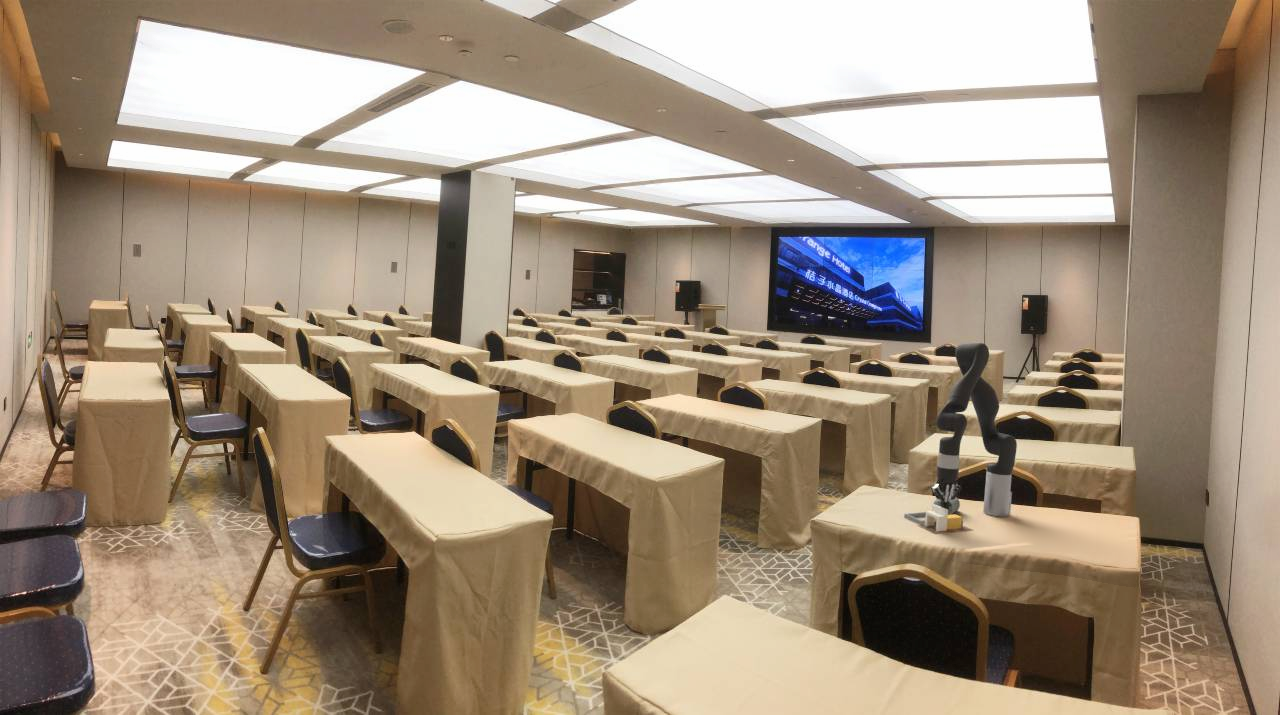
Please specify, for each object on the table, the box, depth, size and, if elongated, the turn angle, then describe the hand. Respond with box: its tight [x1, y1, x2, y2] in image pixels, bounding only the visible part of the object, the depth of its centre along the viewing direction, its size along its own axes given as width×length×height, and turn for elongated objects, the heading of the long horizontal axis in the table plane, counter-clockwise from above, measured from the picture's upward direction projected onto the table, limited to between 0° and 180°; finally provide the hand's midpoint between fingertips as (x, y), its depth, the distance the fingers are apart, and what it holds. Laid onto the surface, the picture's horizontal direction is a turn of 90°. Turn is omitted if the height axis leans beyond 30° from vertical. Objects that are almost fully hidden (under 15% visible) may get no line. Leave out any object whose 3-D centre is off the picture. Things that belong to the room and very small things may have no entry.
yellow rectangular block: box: [936, 513, 963, 530], centre depth 273 cm, size 9×4×4 cm, turn 110°
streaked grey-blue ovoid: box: [932, 495, 961, 515], centre depth 293 cm, size 14×10×10 cm
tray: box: [903, 511, 936, 525], centre depth 282 cm, size 14×9×2 cm
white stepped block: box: [924, 504, 948, 532], centre depth 271 cm, size 4×7×8 cm, turn 20°
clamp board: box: [916, 520, 973, 535], centre depth 273 cm, size 18×10×3 cm, turn 110°
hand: (944, 510), depth 272 cm, fingers closed
